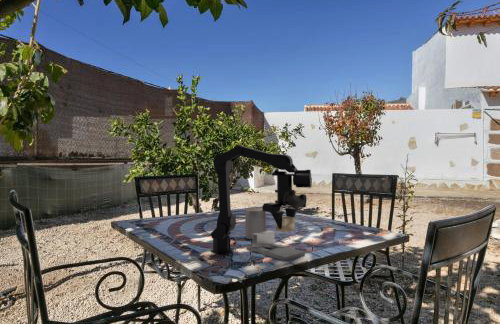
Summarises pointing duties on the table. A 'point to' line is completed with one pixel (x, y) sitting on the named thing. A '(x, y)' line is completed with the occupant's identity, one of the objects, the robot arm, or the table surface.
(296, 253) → the press bed
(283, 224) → the block
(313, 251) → the table surface
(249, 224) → the pillar candle
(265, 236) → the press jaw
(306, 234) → the table surface
